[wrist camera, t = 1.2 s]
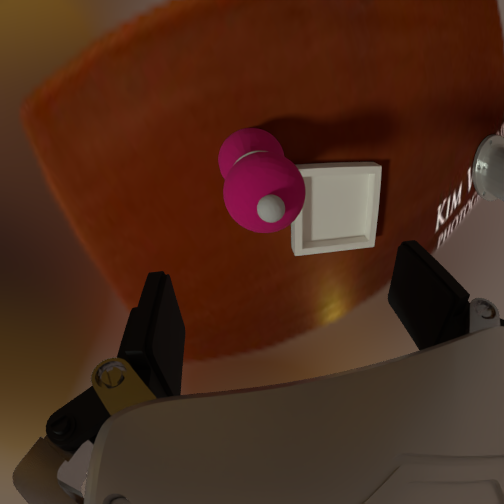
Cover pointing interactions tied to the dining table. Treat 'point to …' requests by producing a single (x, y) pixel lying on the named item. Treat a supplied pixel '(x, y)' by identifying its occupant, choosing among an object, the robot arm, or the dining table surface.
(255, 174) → the pepper mill
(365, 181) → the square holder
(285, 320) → the dining table surface
